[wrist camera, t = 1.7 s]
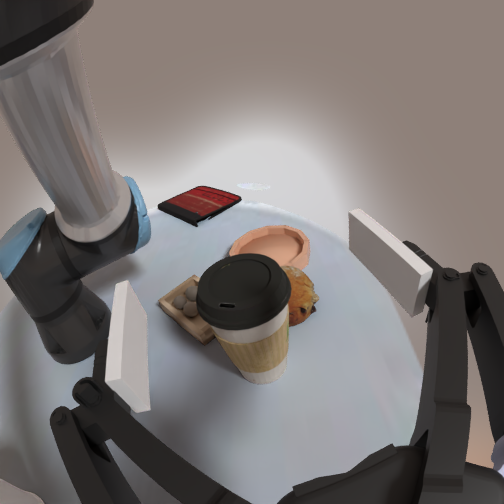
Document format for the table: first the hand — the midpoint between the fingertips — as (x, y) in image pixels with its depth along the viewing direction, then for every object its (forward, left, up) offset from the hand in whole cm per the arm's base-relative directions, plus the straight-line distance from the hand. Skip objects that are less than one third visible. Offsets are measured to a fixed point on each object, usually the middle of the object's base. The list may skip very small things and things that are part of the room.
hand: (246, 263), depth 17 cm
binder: (-57, +31, -24) cm, 70 cm away
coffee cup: (-8, +5, -24) cm, 26 cm away
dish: (-23, +23, -24) cm, 40 cm away
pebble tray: (-23, +6, -24) cm, 34 cm away
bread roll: (-13, +15, -24) cm, 31 cm away
